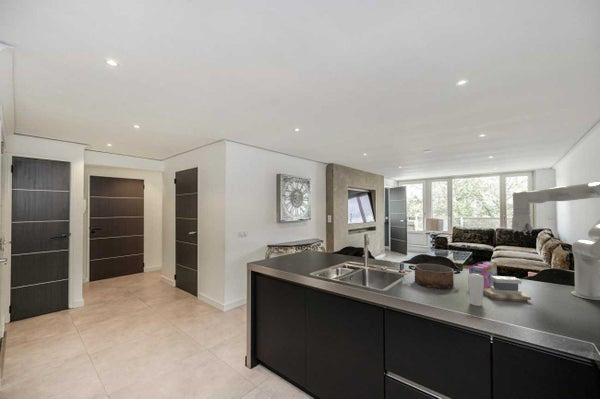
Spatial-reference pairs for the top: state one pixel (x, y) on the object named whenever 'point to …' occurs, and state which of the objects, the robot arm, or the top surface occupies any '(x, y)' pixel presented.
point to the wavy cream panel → (506, 296)
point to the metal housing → (505, 285)
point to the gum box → (484, 271)
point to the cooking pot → (434, 276)
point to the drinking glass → (476, 289)
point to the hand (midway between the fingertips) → (522, 240)
